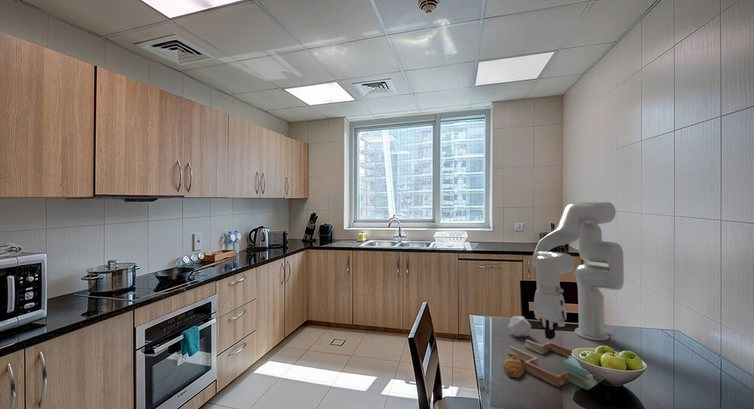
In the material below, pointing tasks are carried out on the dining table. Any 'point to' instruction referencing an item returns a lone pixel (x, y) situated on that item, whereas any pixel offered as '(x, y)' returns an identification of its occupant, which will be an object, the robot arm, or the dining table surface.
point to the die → (519, 326)
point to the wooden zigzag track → (556, 380)
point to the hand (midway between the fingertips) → (550, 337)
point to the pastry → (513, 367)
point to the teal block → (574, 367)
